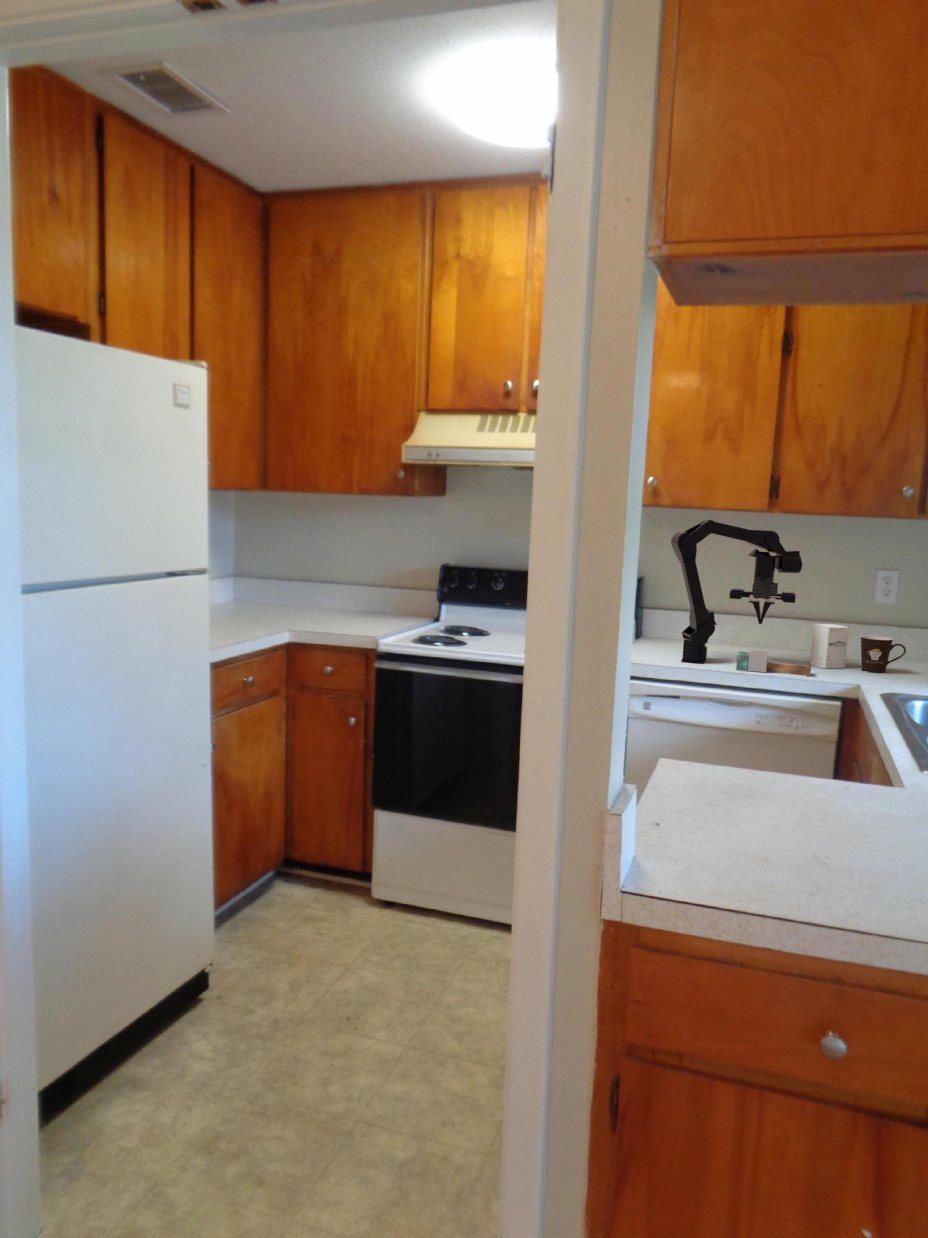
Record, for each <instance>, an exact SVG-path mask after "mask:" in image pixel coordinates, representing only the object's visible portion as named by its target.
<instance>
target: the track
mask: <svg viewBox="0 0 928 1238" xmlns="http://www.w3.org/2000/svg"><path fill="white" fill-rule="evenodd" d="M749 652H750V651H741V650H740V651H738V652H737V654H736V656H737V657H736V668H735V670H736V671H740V670H741V671H742V672H748V660H749ZM811 670H812V666H811V664H806V665H805V664H794V663H793V664H792V663H786V662H785V663H783V662H772V661H771V662H770V661H767V668H766V671H769V672H768V673H776V674H777V673H779V674H787V673H789V674H788V675H798V676H799V675H800V676H806V677H811V672H812V671H811ZM741 671H740V672H741Z"/></svg>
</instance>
